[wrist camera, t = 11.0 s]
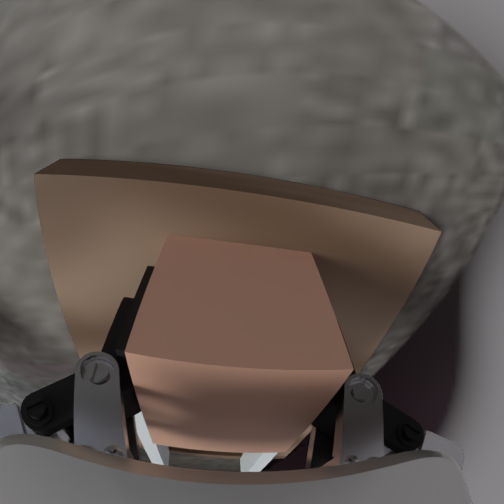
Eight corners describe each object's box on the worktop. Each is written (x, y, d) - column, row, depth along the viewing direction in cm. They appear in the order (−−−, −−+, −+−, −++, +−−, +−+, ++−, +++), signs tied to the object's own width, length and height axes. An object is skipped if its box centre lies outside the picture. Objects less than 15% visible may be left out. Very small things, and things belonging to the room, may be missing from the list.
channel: (250, 458, 23) (251, 480, 21) (159, 450, 22) (157, 472, 19) (304, 371, 14) (312, 411, 12) (131, 354, 13) (120, 395, 11)
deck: (282, 442, 25) (284, 458, 23) (128, 428, 23) (125, 444, 21) (418, 211, 12) (441, 231, 10) (60, 159, 9) (33, 174, 8)
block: (273, 356, 13) (284, 452, 9) (169, 346, 12) (152, 443, 8) (310, 252, 10) (353, 369, 6) (168, 233, 9) (124, 351, 5)
